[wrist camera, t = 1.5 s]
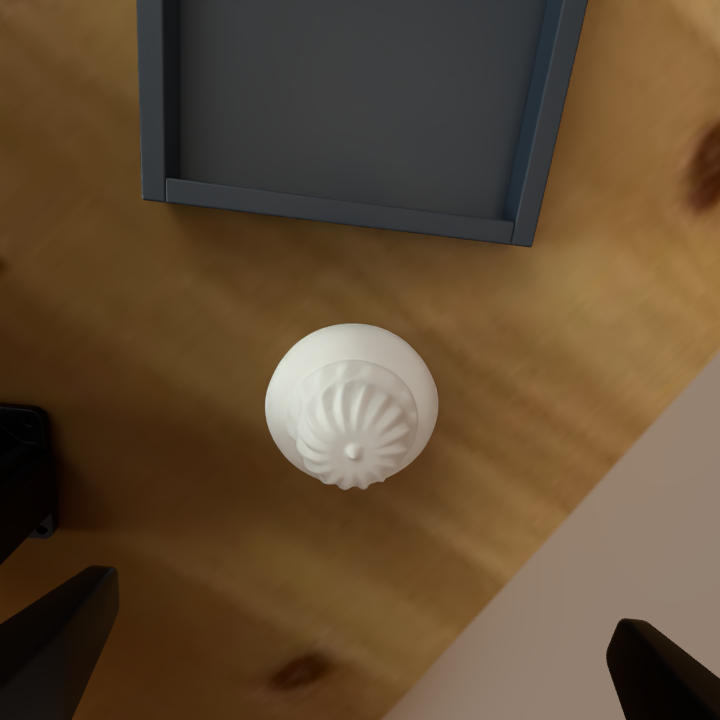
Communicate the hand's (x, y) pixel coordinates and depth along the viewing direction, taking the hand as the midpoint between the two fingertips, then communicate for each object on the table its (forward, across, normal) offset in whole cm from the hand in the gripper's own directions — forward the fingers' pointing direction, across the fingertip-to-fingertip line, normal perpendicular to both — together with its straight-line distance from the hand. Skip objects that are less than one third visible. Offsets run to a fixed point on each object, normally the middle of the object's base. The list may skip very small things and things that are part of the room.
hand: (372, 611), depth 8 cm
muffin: (+12, 0, 0) cm, 12 cm away
